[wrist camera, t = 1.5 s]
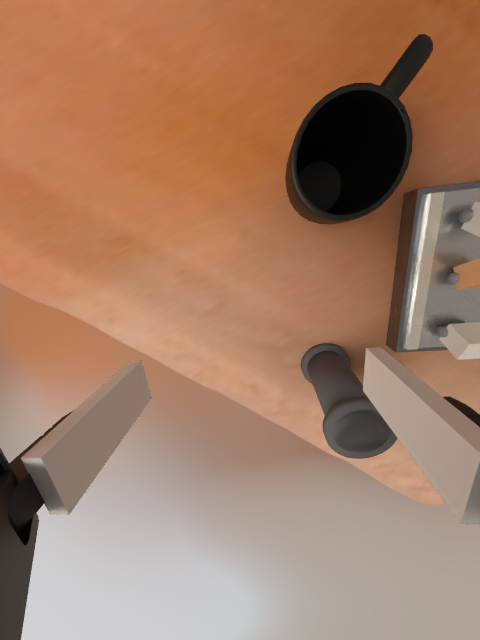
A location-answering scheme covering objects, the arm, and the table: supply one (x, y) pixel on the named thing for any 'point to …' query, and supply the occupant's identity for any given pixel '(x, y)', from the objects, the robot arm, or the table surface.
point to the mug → (354, 145)
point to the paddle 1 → (461, 339)
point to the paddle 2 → (471, 219)
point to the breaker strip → (432, 267)
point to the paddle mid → (466, 275)
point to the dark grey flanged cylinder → (345, 405)
